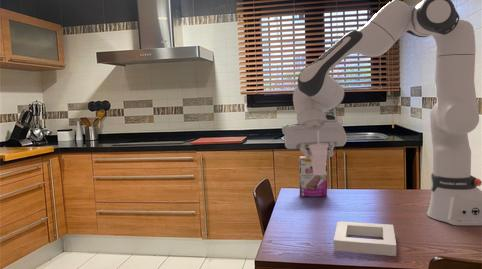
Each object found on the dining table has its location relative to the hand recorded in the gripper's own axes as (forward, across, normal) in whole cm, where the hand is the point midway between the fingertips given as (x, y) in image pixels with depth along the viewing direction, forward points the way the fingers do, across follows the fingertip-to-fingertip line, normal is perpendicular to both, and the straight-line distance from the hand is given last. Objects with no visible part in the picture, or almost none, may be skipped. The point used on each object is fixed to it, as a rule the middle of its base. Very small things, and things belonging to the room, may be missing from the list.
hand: (319, 156), depth 126 cm
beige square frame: (+27, +8, +5) cm, 29 cm away
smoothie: (+4, 0, +5) cm, 6 cm away
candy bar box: (-9, +7, +42) cm, 43 cm away
